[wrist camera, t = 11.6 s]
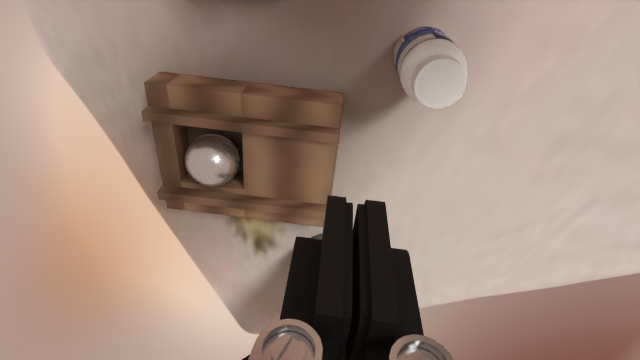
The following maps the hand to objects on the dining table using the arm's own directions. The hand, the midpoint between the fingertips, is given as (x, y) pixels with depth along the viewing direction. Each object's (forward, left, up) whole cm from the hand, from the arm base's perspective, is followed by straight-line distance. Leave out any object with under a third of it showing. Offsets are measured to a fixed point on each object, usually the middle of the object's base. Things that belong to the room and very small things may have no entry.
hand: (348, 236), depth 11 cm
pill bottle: (-7, +1, -29) cm, 30 cm away
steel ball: (+14, +14, -26) cm, 33 cm away
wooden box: (+10, +14, -29) cm, 34 cm away
